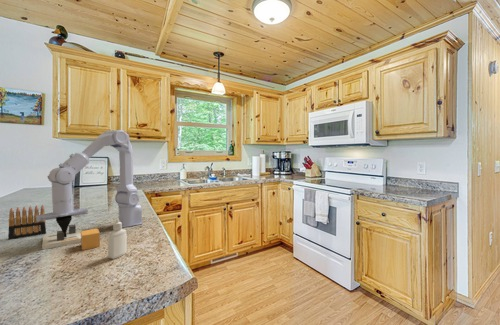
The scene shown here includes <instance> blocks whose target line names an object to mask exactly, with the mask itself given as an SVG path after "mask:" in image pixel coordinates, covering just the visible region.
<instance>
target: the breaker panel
mask: <svg viewBox="0 0 500 325" xmlns="http://www.w3.org/2000/svg"><path fill="white" fill-rule="evenodd" d="M66 236H67V237H64V240H59V241H57V232H54V233H46V234H43V237H42V238H43V239H42V244H41V250H42V251H43V250H48V249H54V248H58V247H63V246H68V245H69V246H70V245H74V244H81V230H80V229H76V233H72V234H69V230H67V232H66Z"/></svg>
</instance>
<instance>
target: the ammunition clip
mask: <svg viewBox="0 0 500 325" xmlns="http://www.w3.org/2000/svg"><path fill="white" fill-rule="evenodd" d="M21 211H22V212H21ZM27 212H28V214H27ZM21 213H22V214H21ZM42 214H46V212H45V207H44V205H43V204H42V205H41V206H40V212H39V207H38V205H35V208H34V212H33V208H32V206H31V205H30V206H29V207H28V211H27V209H26V207H25V206H23V207H22V210H20V207H16V210H15V213H14V209H13V207H11V208H10V209H9V215H8V235H7V237H8V238H7V239H8V240H9V241H10V240H15V239H16V240H17V239H23V238H29V237H34V236H35V237H36V236H42V235H43V236H44V235H47V227H46V226H47V225H46V220H43V221H39V222H36V215H42Z"/></svg>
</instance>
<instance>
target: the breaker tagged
mask: <svg viewBox="0 0 500 325" xmlns="http://www.w3.org/2000/svg"><path fill="white" fill-rule="evenodd" d="M56 233H57V241H59V240H64V232H63V231H62V230H57V231H56Z"/></svg>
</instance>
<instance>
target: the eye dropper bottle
mask: <svg viewBox="0 0 500 325" xmlns="http://www.w3.org/2000/svg"><path fill="white" fill-rule="evenodd" d="M112 226H113V227H112V231H111V232H110V233H109V234H108V238H107V240H108V241H107V256H108V257H107V258H108V259H113V260H115V259H117V258H120V257H123V256H124V255H125V254H126V253H127V250H128V248H127V247H128V246H127V244H128V243H127V242H128V240H127V239H128V238H127V230H126V229H125V228H123V227H122V223H121V222H119V218H116V219H115V221H114V222H113V223H112Z"/></svg>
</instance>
